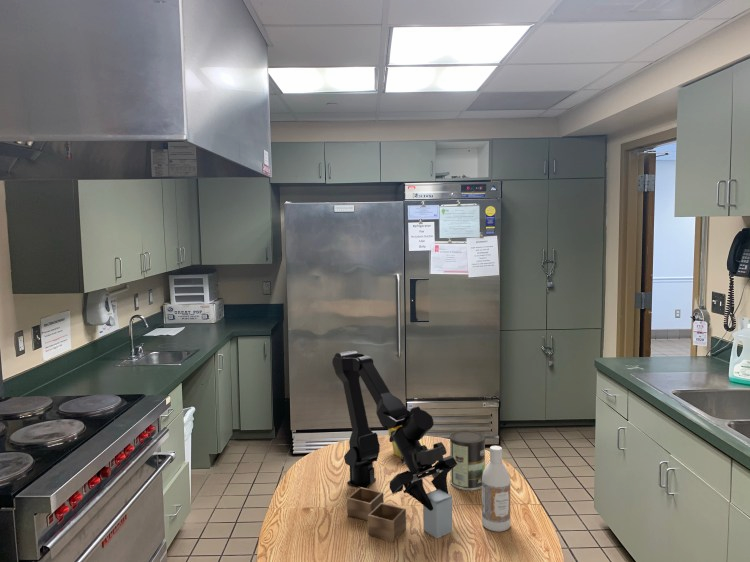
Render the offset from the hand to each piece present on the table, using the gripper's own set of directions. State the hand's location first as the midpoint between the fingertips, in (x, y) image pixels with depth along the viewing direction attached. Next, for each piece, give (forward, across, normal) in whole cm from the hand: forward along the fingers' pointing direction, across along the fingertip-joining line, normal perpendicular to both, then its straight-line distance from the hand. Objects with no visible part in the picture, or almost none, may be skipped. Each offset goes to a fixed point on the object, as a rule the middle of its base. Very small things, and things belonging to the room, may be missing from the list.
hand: (440, 506), depth 130 cm
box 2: (-1, -10, +11) cm, 15 cm away
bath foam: (+9, +13, 0) cm, 16 cm away
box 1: (-8, -9, +18) cm, 22 cm away
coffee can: (-6, +24, +15) cm, 29 cm away
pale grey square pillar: (+4, 0, +5) cm, 7 cm away
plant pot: (-25, +24, +35) cm, 49 cm away
